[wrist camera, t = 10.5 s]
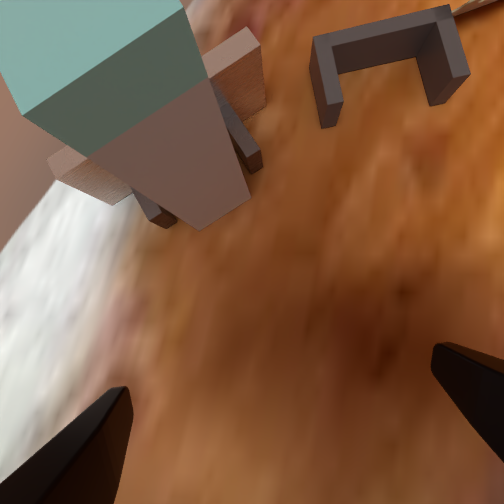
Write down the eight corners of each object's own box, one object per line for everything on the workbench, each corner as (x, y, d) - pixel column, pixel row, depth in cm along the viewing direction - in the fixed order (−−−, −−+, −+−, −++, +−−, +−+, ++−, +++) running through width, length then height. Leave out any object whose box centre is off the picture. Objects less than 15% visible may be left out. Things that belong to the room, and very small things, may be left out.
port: (295, 146, 19) (300, 88, 13) (135, 248, 19) (75, 234, 14) (255, 91, 20) (245, 15, 14) (103, 190, 20) (36, 154, 15)
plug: (251, 197, 19) (183, 6, 6) (199, 231, 19) (22, 115, 6) (220, 150, 19) (100, -111, 7) (170, 182, 20) (-42, -13, 7)
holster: (444, 103, 18) (470, 74, 15) (321, 128, 19) (327, 104, 16) (427, 41, 19) (449, 3, 16) (309, 68, 19) (313, 36, 17)
